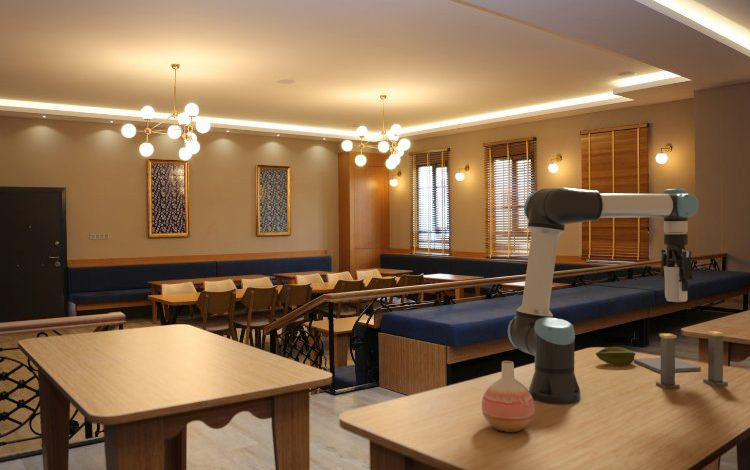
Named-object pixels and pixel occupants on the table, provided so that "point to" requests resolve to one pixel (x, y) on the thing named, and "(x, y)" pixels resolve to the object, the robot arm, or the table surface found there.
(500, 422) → the vase
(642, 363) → the pad
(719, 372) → the post
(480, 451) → the table surface
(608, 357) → the fruit
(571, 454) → the table surface
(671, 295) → the cup
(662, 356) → the post
